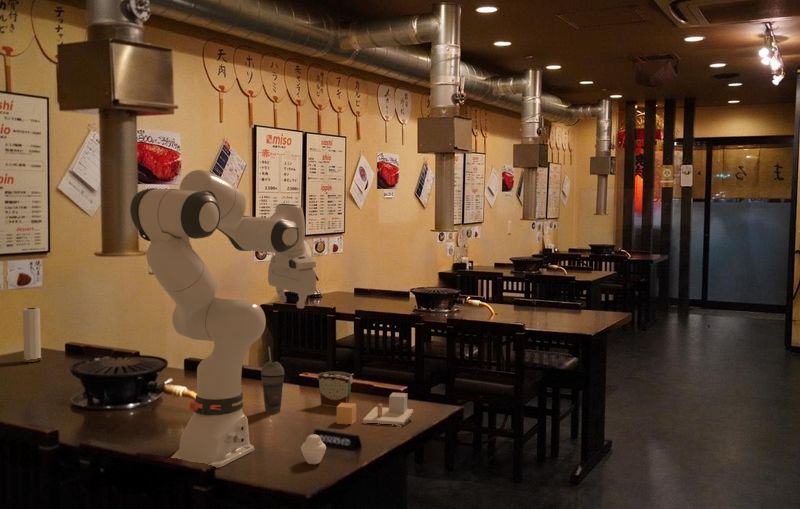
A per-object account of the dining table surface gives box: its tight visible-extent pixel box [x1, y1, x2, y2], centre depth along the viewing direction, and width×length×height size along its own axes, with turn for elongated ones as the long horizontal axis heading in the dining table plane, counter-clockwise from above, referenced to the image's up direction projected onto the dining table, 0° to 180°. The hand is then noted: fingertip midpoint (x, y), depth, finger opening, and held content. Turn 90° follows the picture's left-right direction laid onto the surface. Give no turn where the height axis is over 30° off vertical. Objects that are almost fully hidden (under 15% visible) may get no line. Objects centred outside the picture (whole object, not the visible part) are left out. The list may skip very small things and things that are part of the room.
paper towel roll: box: [22, 307, 42, 360], centre depth 299 cm, size 7×6×21 cm
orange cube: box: [336, 402, 357, 426], centre depth 220 cm, size 5×5×5 cm
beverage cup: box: [260, 346, 286, 415], centre depth 230 cm, size 7×7×20 cm
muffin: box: [300, 433, 327, 465], centre depth 186 cm, size 6×6×7 cm
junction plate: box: [362, 392, 414, 426], centre depth 225 cm, size 14×12×6 cm
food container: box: [316, 371, 354, 408], centre depth 240 cm, size 12×6×10 cm, turn 63°
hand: (291, 305), depth 222 cm, fingers open, 8 cm apart
